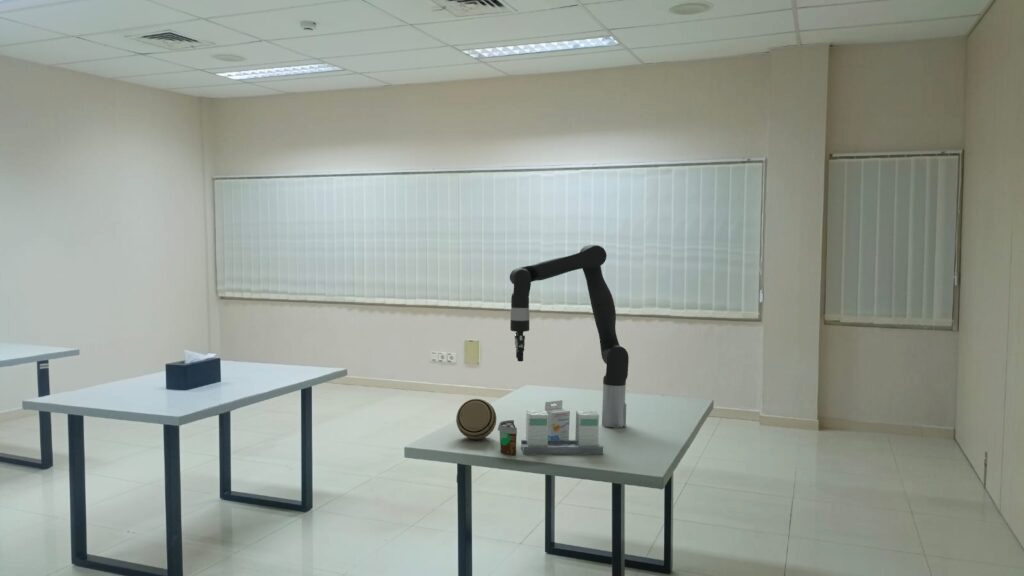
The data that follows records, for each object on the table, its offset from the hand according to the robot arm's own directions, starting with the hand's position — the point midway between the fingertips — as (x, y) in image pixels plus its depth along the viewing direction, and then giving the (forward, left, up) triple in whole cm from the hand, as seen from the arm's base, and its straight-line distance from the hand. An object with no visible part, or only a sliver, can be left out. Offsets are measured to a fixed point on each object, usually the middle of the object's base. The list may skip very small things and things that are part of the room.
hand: (519, 359), depth 291 cm
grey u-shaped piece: (-13, +31, -28) cm, 44 cm away
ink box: (-13, +18, -28) cm, 36 cm away
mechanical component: (+17, +15, -28) cm, 36 cm away
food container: (+7, +33, -28) cm, 44 cm away
